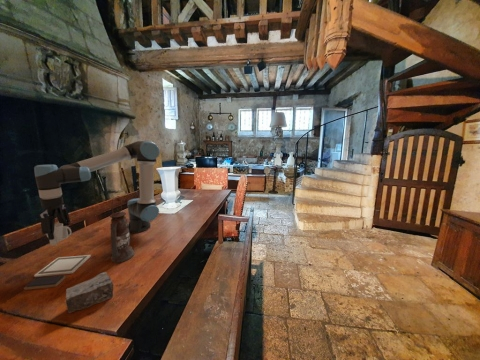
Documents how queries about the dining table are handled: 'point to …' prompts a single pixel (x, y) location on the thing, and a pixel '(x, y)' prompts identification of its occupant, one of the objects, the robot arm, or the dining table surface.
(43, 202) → the robot arm
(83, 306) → the stone block
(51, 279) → the ink pad
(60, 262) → the board
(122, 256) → the lantern
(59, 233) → the cup
